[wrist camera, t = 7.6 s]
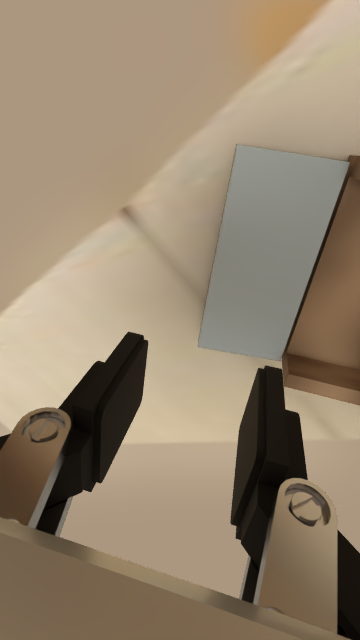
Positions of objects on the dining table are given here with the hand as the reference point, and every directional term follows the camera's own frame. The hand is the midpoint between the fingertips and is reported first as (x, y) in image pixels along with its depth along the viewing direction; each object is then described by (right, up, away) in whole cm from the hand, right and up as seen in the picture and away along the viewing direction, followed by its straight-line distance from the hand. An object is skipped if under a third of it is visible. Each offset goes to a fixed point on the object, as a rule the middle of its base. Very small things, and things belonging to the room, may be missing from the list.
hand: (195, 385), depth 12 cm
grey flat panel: (+9, +5, +12) cm, 16 cm away
